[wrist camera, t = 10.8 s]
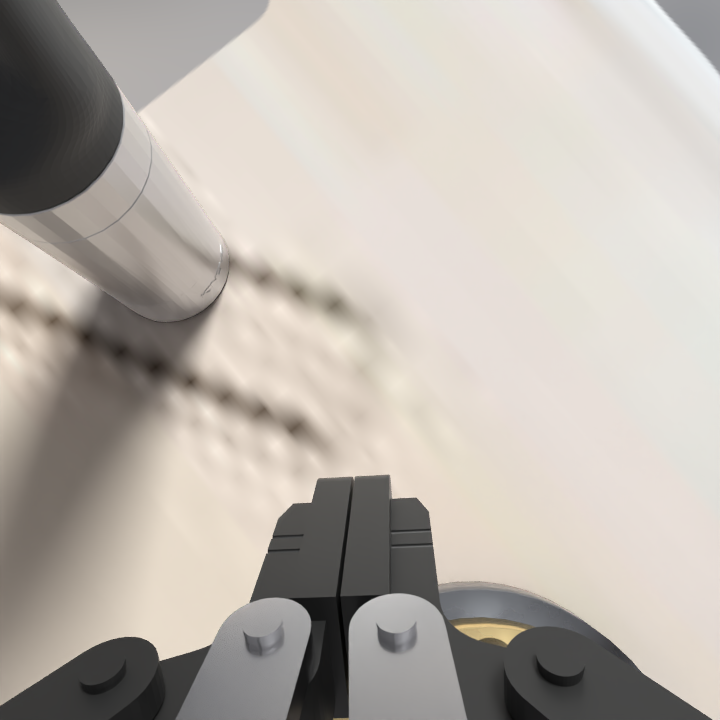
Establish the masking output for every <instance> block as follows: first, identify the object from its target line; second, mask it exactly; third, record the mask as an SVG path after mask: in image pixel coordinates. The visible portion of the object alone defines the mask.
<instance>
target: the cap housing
mask: <svg viewBox="0 0 720 720" xmlns="http://www.w3.org/2000/svg"><path fill="white" fill-rule="evenodd" d="M438 590H439V598H440V604H441V609H442V611H443V613H444V615H445V616H446V618H447V619H448V620H454V619H459V618H475V617H487V618H497V619H507V620H511V621H515V622H520V623H524V624H528V625H531V626H533V627H543V626H550V627H559V628H565V629H568V630H572V631H575V632H577V633H579V634H582V635H584V636H585V637H587V638H589V639H591V640H592V641H594V642H595V643H597V644H598V645H600V646H601V647H603V648H604V649H606V650H607V651H609V652H611V653H612V654H614V655H615V656H617V657H618V658H620V659H621V660H623V661H624V662H626V663H627V664H629V665H630V666H632V667H633V668H635V669H636V670H638V671H639V672H641V671H640V670H639V669H638V668H637V667H636V665H635V664H634V663H633V662H632V661H631V660H630V659H629V658H628V657H627V656H626V655H625V654H624V653H623V652H622V651H621V650H620V649H619V648H618V647H616V646H615V645H614V644H613V643H612V642H611V641H610V640H609V639H607V638H606V637H605V636H603V635H602V634H601V633H599V632H598V631H596V630H595V629H594V628H592V627H591V626H590V625H588V624H587V623H586V622H584V621H583V620H581V619H580V618H579V617H577V616H576V615H575V614H573V613H572V612H570V611H568V610H567V609H565V608H563V607H561V606H560V605H558V604H556V603H554V602H552V601H551V600H549V599H546V598H544V597H541V596H539V595H536V594H534V593H531V592H529V591H527V590H523V589H519V588H515V587H511V586H507V585H504V584H496V583H488V582H452V583H446V584H440V585H438ZM641 673H642V672H641Z"/></svg>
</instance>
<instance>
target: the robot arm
mask: <svg viewBox="0 0 720 720" xmlns="http://www.w3.org/2000/svg"><path fill="white" fill-rule="evenodd" d="M0 223H1V224H3V225H4V226H6V227H7V228H9V229H10V230H12V231H13V232H15V233H16V234H18V235H20V236H21V237H23V238H24V239H26V240H27V241H29V242H31V243H32V244H34V245H35V246H37V247H38V248H40V249H41V250H43V251H44V252H46V253H47V254H49V255H50V256H52V257H53V258H55V259H56V260H58V261H59V262H61V263H62V264H64V265H65V266H67V267H68V268H70V269H71V270H73V271H74V272H76V273H77V274H79V275H80V276H82V277H83V278H85V279H86V280H88V281H89V282H91V283H92V284H94V285H95V286H97V287H98V288H100V289H101V290H103V291H104V292H106V293H107V294H109V295H110V296H112V297H113V298H115V299H116V300H118V301H119V302H121V303H122V304H124V305H125V306H127V307H128V308H130V309H131V310H133V311H134V312H136V313H138V314H139V315H141V316H143V317H145V318H148V319H151V320H154V321H161V322H173V321H180V320H183V319H186V318H189V317H192V316H194V315H196V314H198V313H199V312H201V311H203V310H204V309H205V308H206V307H208V306H209V305H210V304H211V303H212V302H213V301H214V300H215V299H216V297H217V296H218V295H219V293H220V292H221V290H222V288H223V286H224V284H225V282H226V279H227V275H228V271H229V254H228V249H227V246H226V244H225V241H224V239H223V237H222V236H221V234H220V233H219V231H218V230H217V228H216V227H215V226H214V224H213V223H212V221H211V220H210V218H209V217H208V215H207V214H206V212H205V211H204V209H203V208H202V206H201V205H200V203H199V202H198V200H197V199H196V198H195V196H194V195H193V193H192V192H191V190H190V189H189V187H188V186H187V185H186V183H185V182H184V180H183V179H182V177H181V176H180V174H179V173H178V172H177V170H176V169H175V167H174V166H173V164H172V163H171V161H170V160H169V159H168V157H167V156H166V154H165V153H164V151H163V150H162V148H161V147H160V146H159V144H158V143H157V141H156V140H155V138H154V137H153V135H152V134H151V133H150V131H149V130H148V128H147V127H146V125H145V124H144V122H143V121H142V120H141V118H140V117H139V116H138V114H137V113H136V111H135V110H134V108H133V107H132V106H131V104H130V103H129V101H128V100H127V98H126V97H125V96H124V94H123V93H122V91H121V90H120V89H119V87H118V85H117V84H116V82H115V81H114V80H113V78H112V77H111V76H110V74H109V73H108V71H107V70H106V68H105V67H104V66H103V64H102V63H101V62H100V60H99V59H98V57H97V56H96V55H95V53H94V52H93V51H92V49H91V48H90V46H89V45H88V44H87V43H86V41H85V40H84V38H83V37H82V36H81V35H80V33H79V32H78V30H77V29H76V28H75V26H74V25H73V24H72V22H71V21H70V19H69V18H68V16H67V15H66V13H65V12H64V11H63V9H62V8H61V6H60V5H59V3H58V2H57V1H56V0H0ZM333 718H349V720H712V719H711V718H709V717H708V716H706V715H705V714H703V713H702V712H700V711H699V710H697V709H695V708H694V707H692V706H691V705H689V704H688V703H686V702H685V701H683V700H682V699H680V698H679V697H677V696H676V695H674V694H673V693H671V692H670V691H668V690H667V689H665V688H664V687H662V686H661V685H659V684H658V683H656V682H655V681H653V680H651V679H650V678H648V677H647V676H645V675H644V674H642V673H641V672H639V671H638V670H636V669H635V668H633V667H632V666H630V665H629V664H627V663H626V662H624V661H623V660H621V659H620V658H618V657H617V656H615V655H614V654H612V653H611V652H609V651H607V650H606V649H604V648H603V647H601V646H600V645H598V644H597V643H595V642H594V641H592V640H591V639H589V638H587V637H585V636H584V635H582V634H579V633H577V632H575V631H572V630H568V629H565V628H559V627H550V626H543V627H535V628H530V629H528V630H525V631H522V632H521V633H519V634H518V635H516V636H515V637H514V638H513V639H512V640H511V641H510V642H509V644H508V645H507V647H502V646H498V645H494V644H489V643H485V642H482V641H479V640H476V639H474V638H471V637H469V636H467V635H465V634H464V633H462V632H460V631H459V630H458V629H457V628H455V627H454V626H453V625H452V624H451V623H450V622H449V621H448V619H447V618H446V616H445V615H444V613H443V611H442V609H441V604H440V598H439V590H438V582H437V574H436V566H435V558H434V550H433V542H432V534H431V526H430V518H429V511H428V510H427V509H426V508H425V507H424V506H423V505H422V503H421V502H420V501H419V500H418V499H417V498H400V499H392V493H391V481H390V475H376V476H356V477H355V481H354V479H353V477H339V478H319V479H318V480H317V484H316V488H315V491H314V495H313V499H312V503H298V504H293V505H292V506H291V507H290V508H289V509H288V510H287V511H286V512H285V513H284V514H283V515H282V516H281V517H280V518H279V519H278V522H277V524H276V527H275V530H274V533H273V539H271V542H270V545H269V548H268V554H266V556H265V559H264V562H263V565H262V568H261V571H260V574H259V577H258V580H257V582H256V585H255V588H254V591H253V594H252V597H251V600H250V603H249V604H247V605H245V606H243V607H241V608H239V609H238V610H236V611H235V612H234V613H232V614H231V615H230V616H229V617H228V618H227V619H226V620H225V622H224V623H223V624H222V626H221V627H220V629H219V631H218V633H217V635H216V637H215V639H214V641H213V643H212V644H211V645H209V646H207V647H205V648H202V649H199V650H196V651H193V652H190V653H186V654H183V655H179V656H176V657H173V658H169V659H166V660H162V661H159V657H158V653H157V651H156V648H155V647H154V646H153V644H151V643H150V642H149V641H147V640H144V639H142V638H137V637H123V638H117V639H113V640H109V641H106V642H103V643H101V644H99V645H96V646H94V647H92V648H90V649H89V650H87V651H85V652H84V653H82V654H80V655H79V656H77V657H76V658H74V659H73V660H71V661H70V662H68V663H66V664H65V665H63V666H62V667H60V668H59V669H57V670H56V671H54V672H52V673H51V674H49V675H48V676H46V677H45V678H43V679H42V680H40V681H39V682H37V683H35V684H34V685H32V686H31V687H29V688H28V689H26V690H25V691H23V692H21V693H20V694H18V695H17V696H15V697H14V698H12V699H11V700H9V701H7V702H6V703H4V704H3V705H1V706H0V720H333Z"/></svg>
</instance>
